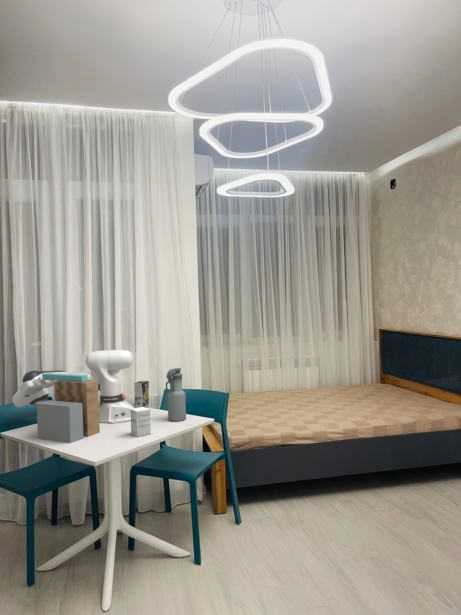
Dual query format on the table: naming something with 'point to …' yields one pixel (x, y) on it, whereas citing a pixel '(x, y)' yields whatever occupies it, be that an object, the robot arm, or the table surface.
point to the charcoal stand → (60, 421)
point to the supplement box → (140, 422)
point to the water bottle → (175, 396)
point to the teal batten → (65, 377)
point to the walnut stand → (82, 401)
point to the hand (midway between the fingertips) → (49, 376)
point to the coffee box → (141, 394)
